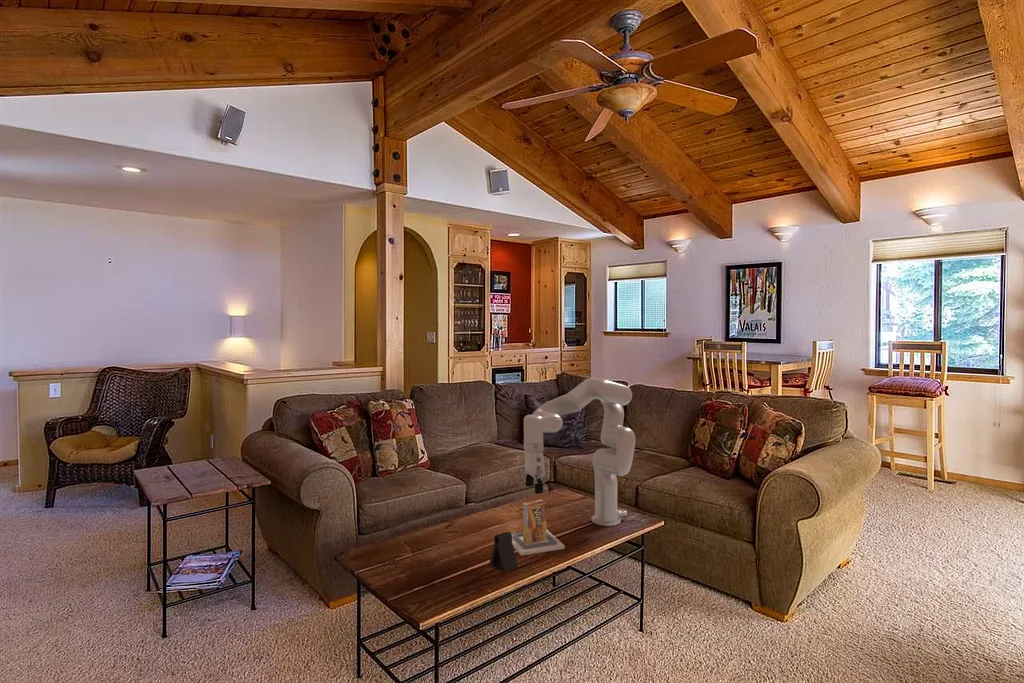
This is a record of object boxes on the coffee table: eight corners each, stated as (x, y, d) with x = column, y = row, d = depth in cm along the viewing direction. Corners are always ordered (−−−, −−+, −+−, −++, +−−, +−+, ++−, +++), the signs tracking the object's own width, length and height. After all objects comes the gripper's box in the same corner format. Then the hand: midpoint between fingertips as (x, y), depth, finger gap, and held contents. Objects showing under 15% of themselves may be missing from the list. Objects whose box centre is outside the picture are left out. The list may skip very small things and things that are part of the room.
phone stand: (489, 564, 214) (488, 532, 213) (502, 559, 217) (501, 528, 217) (505, 572, 207) (504, 539, 206) (517, 567, 211) (517, 535, 210)
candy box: (540, 536, 236) (540, 498, 236) (547, 539, 233) (546, 501, 232) (522, 541, 232) (522, 502, 231) (528, 544, 228) (528, 505, 227)
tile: (546, 532, 244) (546, 526, 244) (564, 548, 227) (564, 542, 227) (505, 538, 238) (505, 532, 238) (521, 555, 221) (520, 549, 221)
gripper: (551, 450, 223) (551, 494, 224) (534, 441, 239) (535, 482, 240) (532, 452, 221) (533, 497, 222) (517, 442, 237) (517, 484, 238)
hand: (534, 489), depth 231 cm, fingers open, 9 cm apart
